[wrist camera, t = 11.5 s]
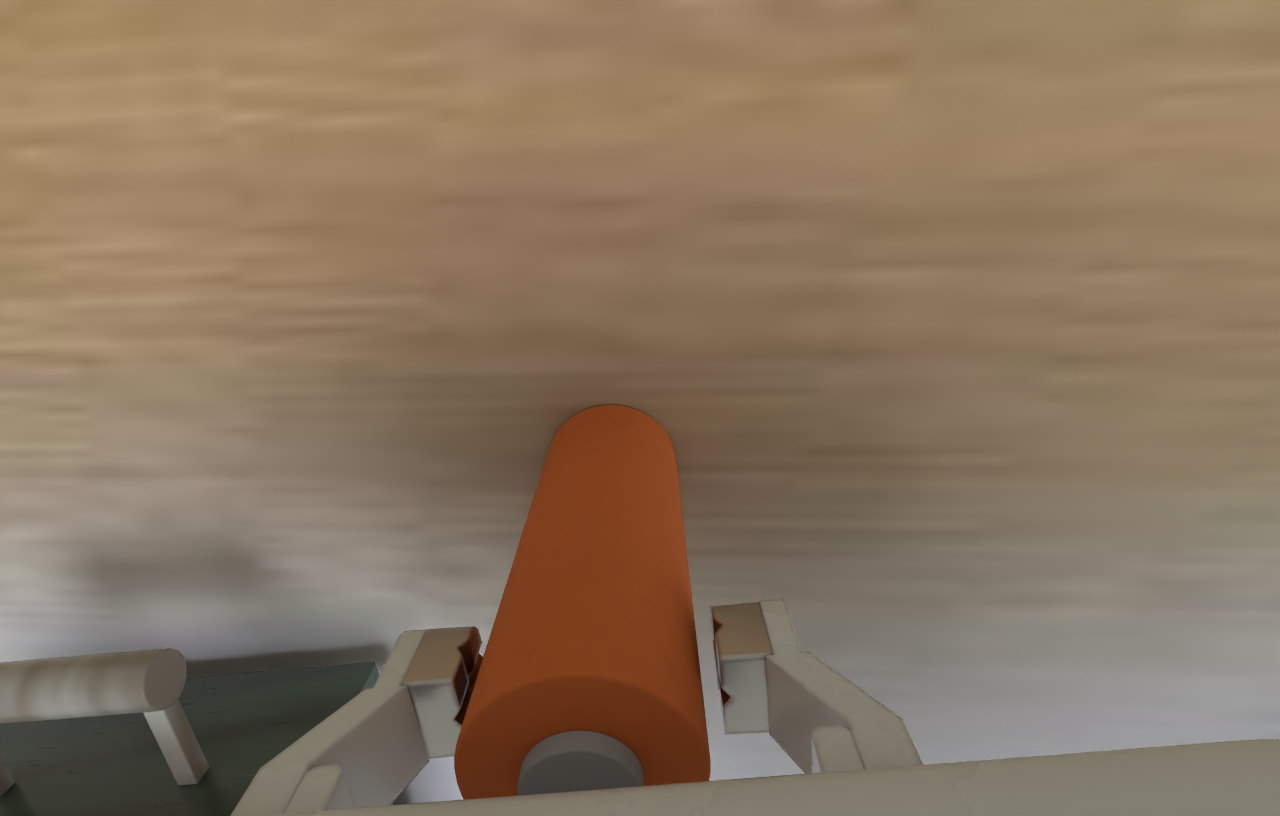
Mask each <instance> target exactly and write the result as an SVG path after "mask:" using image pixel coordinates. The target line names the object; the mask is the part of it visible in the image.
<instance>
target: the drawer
mask: <svg viewBox="0 0 1280 816" xmlns="http://www.w3.org/2000/svg"><path fill="white" fill-rule="evenodd" d="M186 677H187V667H186V662H185V659H184V657H183V655H182V654H181V653H180V652H179V651H177V650H175V649H172V648H166V649H154V650H142V651H131V652H119V653H107V654H95V655H84V656H72V657H60V658H48V659H37V660H25V661H13V662H1V663H0V816H231V814H232V812H233V811H234V809H235V808H236V806H237V804H238V803H239V801H240V800H241V798H242V796H243V795H244V793H245V792H246V790H247V788H248V787H249V785H250V784H251V782H252V780H253V779H254V777H255V776H256V774H257V772H258V771H259V769H260V768H261V767H262V766H264V765H265V764H266V763H268V762H269V761H270V760H272V759H273V758H274V757H276V756H277V755H278V754H280V753H281V752H282V751H284V750H285V749H286V748H288V747H289V746H290V745H292V744H293V743H294V742H296V741H297V740H298V739H300V738H301V737H302V736H304V735H305V734H306V733H308V732H309V731H310V730H312V729H313V728H314V727H316V726H317V725H318V724H320V723H321V722H322V721H324V720H325V719H326V718H328V717H329V716H330V715H332V714H333V713H334V712H336V711H337V710H338V709H340V708H341V707H342V706H344V705H345V704H346V703H348V702H349V701H350V700H352V699H353V698H354V697H356V696H357V695H358V694H360V693H361V692H362V691H364V690H365V689H370V688H373V687H374V685H375V683H376V681H377V679H378V677H379V672H378V669H377V666H376V663H375V662H367V663H355V664H343V665H331V666H319V667H307V668H295V669H283V670H271V671H259V672H247V673H235V674H223V675H211V676H199V677H187V678H186ZM391 805H393V802H392V804H391Z"/></svg>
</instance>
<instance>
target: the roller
mask: <svg viewBox="0 0 1280 816" xmlns="http://www.w3.org/2000/svg"><path fill="white" fill-rule="evenodd" d="M454 768H455V773H456V779H457V784H458V786H459V789H460V792H461V795H462V797H463V798H464V800H467V799H480V798H494V797H507V796H520V795H533V794H547V793H560V792H573V791H586V790H598V789H611V788H624V787H638V786H651V785H664V784H677V783H691V782H704V781H709V778H710V753H709V744H708V735H707V727H706V718H705V709H704V700H703V691H702V683H701V674H700V665H699V656H698V647H697V639H696V630H695V621H694V612H693V603H692V594H691V586H690V577H689V568H688V559H687V550H686V542H685V533H684V524H683V515H682V506H681V497H680V489H679V480H678V471H677V462H676V455H675V450H674V447H673V444H672V442H671V440H670V438H669V436H668V435H667V433H666V432H665V430H664V429H663V428H662V427H661V426H660V425H659V424H658V423H657V422H656V421H655V420H654V419H652V418H651V417H649V416H648V415H646V414H645V413H643V412H641V411H638V410H636V409H633V408H630V407H625V406H620V405H602V406H596V407H592V408H589V409H586V410H583V411H581V412H579V413H577V414H576V415H574V416H572V417H571V418H570V419H568V420H567V421H566V422H565V423H564V424H563V425H562V426H561V427H560V428H559V430H558V431H557V432H556V434H555V435H554V437H553V439H552V441H551V444H550V447H549V450H548V453H547V456H546V460H545V463H544V466H543V469H542V472H541V475H540V479H539V482H538V485H537V488H536V491H535V495H534V498H533V501H532V504H531V507H530V510H529V514H528V517H527V520H526V523H525V526H524V530H523V533H522V536H521V539H520V542H519V545H518V549H517V552H516V555H515V558H514V561H513V565H512V568H511V571H510V574H509V577H508V580H507V584H506V587H505V590H504V593H503V596H502V600H501V603H500V606H499V609H498V612H497V615H496V619H495V622H494V625H493V628H492V631H491V635H490V638H489V641H488V644H487V647H486V650H485V654H484V657H483V660H482V663H481V666H480V670H479V673H478V676H477V679H476V682H475V686H474V689H473V692H472V695H471V698H470V701H469V705H468V708H467V711H466V714H465V717H464V721H463V724H462V727H461V730H460V733H459V736H458V740H457V743H456V749H455V755H454Z"/></svg>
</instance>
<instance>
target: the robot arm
mask: <svg viewBox="0 0 1280 816" xmlns="http://www.w3.org/2000/svg"><path fill="white" fill-rule="evenodd" d="M710 608H711V623H712V630H713V637H714V640H713V647H714V657H715V668H716V675H717V683H718V689H719V691H720V702H721V710H722V717H723V723H724V730H725V734H740V733H760V732H769V734H770V735H771V736H772V738H773V739H774V740H775V741H776V742H777V743H778V744H779V745H780V746H781V747H782V749H783V750H784V751H785V752H786V753H787V754H788V755H789V756H790V757H791V758H792V760H793V761H794V762H795V763H796V764H797V765H798V766H799V767H800V768H801V769H802V771H803V772H804V773H805V774H797V775H784V776H770V777H757V778H744V779H731V780H717V781H704V782H691V783H677V784H664V785H651V786H638V787H624V788H611V789H598V790H586V791H573V792H560V793H547V794H533V795H520V796H507V797H494V798H480V799H467V800H454V801H441V802H427V803H414V804H401V805H391V804H392V802H393V801H394V800H395V799H396V798H397V797H398V796H399V795H400V793H401V792H402V791H403V790H404V789H405V788H406V787H407V785H408V784H409V783H410V782H411V781H412V780H413V779H414V778H415V776H416V775H417V774H418V773H419V772H420V771H421V770H422V769H423V767H424V766H425V765H426V764H427V763H428V762H429V759H431V758H440V757H449V756H454V755H455V749H456V743H457V740H458V736H459V733H460V730H461V727H462V724H463V721H464V717H465V714H466V711H467V708H468V705H469V701H470V698H471V695H472V692H473V689H474V686H475V682H476V679H477V676H478V673H479V670H480V666H481V663H482V660H483V657H482V656H481V655H480V654H479V650H480V647H481V644H482V641H481V637H480V634H479V630H478V629H477V628H476V627H475V626H472V627H456V628H440V629H428V630H414V631H405V632H403V633H402V634H401V635H400V636H399V638H398V640H397V642H396V643H395V645H394V647H393V649H392V651H391V653H390V655H389V657H388V659H387V661H386V663H385V665H384V667H383V669H382V671H381V673H380V675H379V677H378V679H377V681H376V683H375V685H374V687H373V688H370V689H365V690H364V691H362V692H361V693H360V694H358V695H357V696H356V697H354V698H353V699H352V700H350V701H349V702H348V703H346V704H345V705H344V706H342V707H341V708H340V709H338V710H337V711H336V712H334V713H333V714H332V715H330V716H329V717H328V718H326V719H325V720H324V721H322V722H321V723H320V724H318V725H317V726H316V727H314V728H313V729H312V730H310V731H309V732H308V733H306V734H305V735H304V736H302V737H301V738H300V739H298V740H297V741H296V742H294V743H293V744H292V745H290V746H289V747H288V748H286V749H285V750H284V751H282V752H281V753H280V754H278V755H277V756H276V757H274V758H273V759H272V760H270V761H269V762H268V763H266V764H265V765H264V766H262V767H261V768H260V769H259V771H258V772H257V774H256V776H255V777H254V779H253V780H252V782H251V784H250V785H249V787H248V788H247V790H246V792H245V793H244V795H243V796H242V798H241V800H240V801H239V803H238V804H237V806H236V808H235V809H234V811H233V812H232V814H231V816H1280V740H1274V739H1256V740H1240V741H1227V742H1215V743H1202V744H1189V745H1176V746H1163V747H1150V748H1137V749H1125V750H1112V751H1099V752H1086V753H1073V754H1059V755H1046V756H1033V757H1020V758H1007V759H993V760H980V761H967V762H954V763H941V764H928V765H923V764H922V761H921V759H920V757H919V755H918V753H917V751H916V748H915V746H914V744H913V742H912V740H911V738H910V735H909V733H908V731H907V729H906V727H905V725H904V722H903V720H902V718H900V717H899V716H897V715H896V714H895V713H893V712H892V711H890V710H889V709H888V708H886V707H885V706H884V705H882V704H881V703H879V702H878V701H877V700H875V699H874V698H872V697H871V696H870V695H868V694H867V693H865V692H864V691H863V690H861V689H860V688H858V687H857V686H856V685H854V684H853V683H852V682H850V681H849V680H847V679H846V678H845V677H843V676H842V675H840V674H839V673H838V672H836V671H835V670H833V669H832V668H831V667H829V666H828V665H826V664H825V663H824V662H822V661H821V660H819V659H818V658H817V657H815V656H814V655H813V654H811V653H810V652H805V653H802V651H801V647H800V644H799V641H798V638H797V635H796V632H795V629H794V626H793V623H792V620H791V617H790V614H789V611H788V608H787V605H786V602H785V600H784V599H774V600H765V601H759V602H753V603H742V604H731V605H720V606H710Z"/></svg>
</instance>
